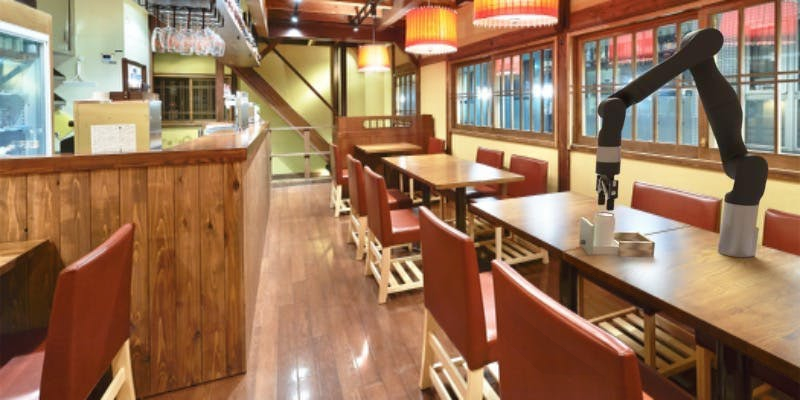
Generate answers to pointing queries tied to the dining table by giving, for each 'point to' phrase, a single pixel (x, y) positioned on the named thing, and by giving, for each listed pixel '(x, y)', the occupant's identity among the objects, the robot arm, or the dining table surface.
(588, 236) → the bracket
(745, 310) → the dining table surface
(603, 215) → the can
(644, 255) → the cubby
